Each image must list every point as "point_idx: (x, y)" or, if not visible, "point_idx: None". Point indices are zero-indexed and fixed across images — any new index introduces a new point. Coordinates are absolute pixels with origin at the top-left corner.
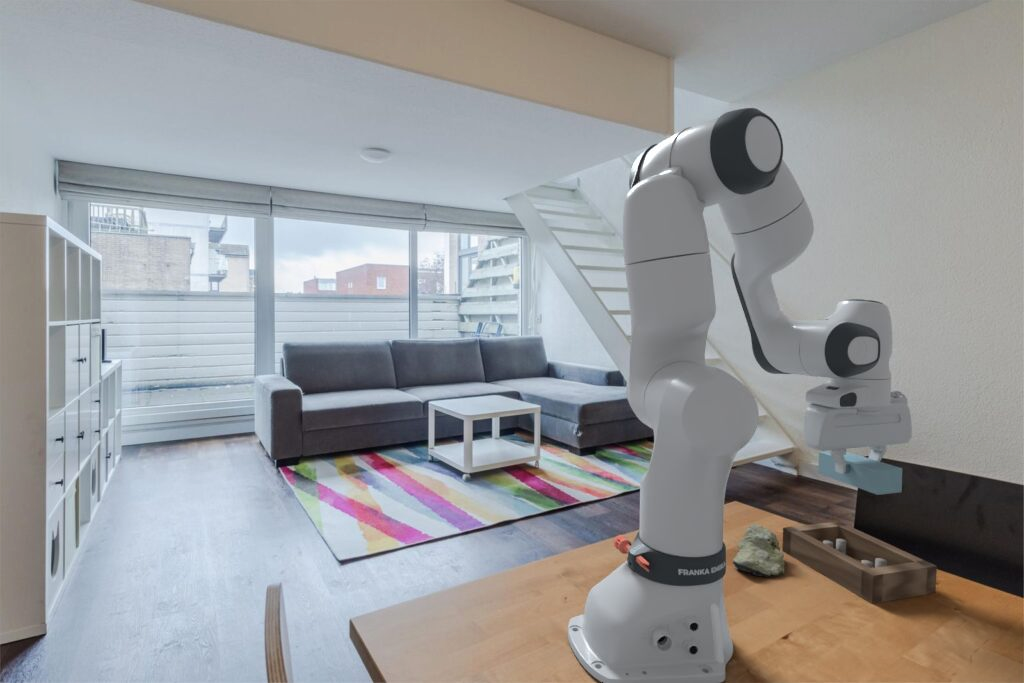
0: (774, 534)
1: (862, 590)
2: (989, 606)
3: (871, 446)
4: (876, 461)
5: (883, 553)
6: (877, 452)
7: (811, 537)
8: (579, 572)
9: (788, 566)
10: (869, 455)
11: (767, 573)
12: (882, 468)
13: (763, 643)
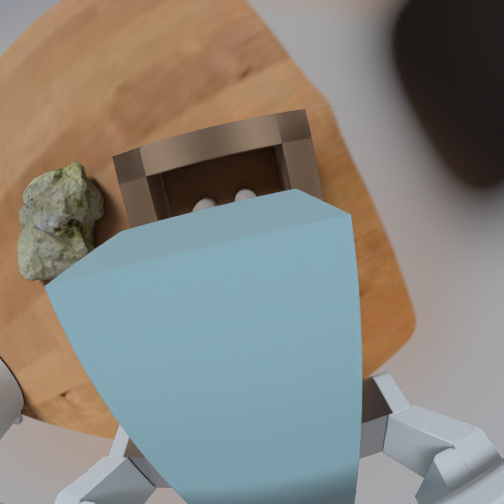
0: (78, 196)
1: None
2: (367, 354)
3: (434, 481)
4: (340, 487)
5: None
6: (426, 464)
7: (154, 221)
8: None
9: (113, 231)
10: (404, 426)
11: None
12: None
13: (45, 397)
